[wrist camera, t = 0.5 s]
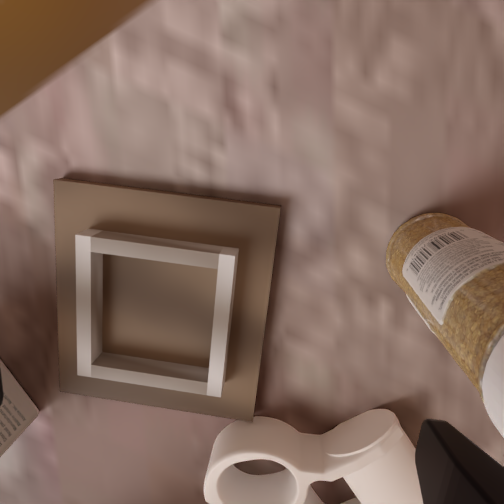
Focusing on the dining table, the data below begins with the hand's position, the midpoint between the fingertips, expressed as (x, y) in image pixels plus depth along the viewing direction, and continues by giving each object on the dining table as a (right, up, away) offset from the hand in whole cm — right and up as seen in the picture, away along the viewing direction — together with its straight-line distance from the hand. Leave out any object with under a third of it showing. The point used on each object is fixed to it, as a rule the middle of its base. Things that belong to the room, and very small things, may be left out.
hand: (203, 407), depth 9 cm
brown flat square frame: (-4, 0, +15) cm, 16 cm away
